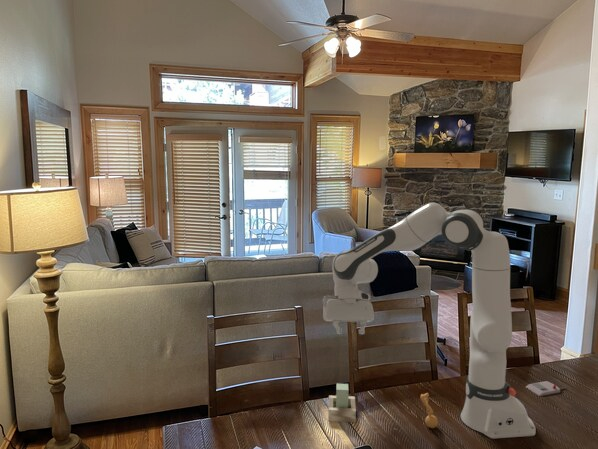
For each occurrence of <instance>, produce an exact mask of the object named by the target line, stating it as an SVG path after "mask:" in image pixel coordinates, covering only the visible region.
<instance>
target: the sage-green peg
mask: <svg viewBox="0 0 598 449" xmlns="http://www.w3.org/2000/svg"><path fill="white" fill-rule="evenodd" d="M335 387H336V388H335V389H336V392H335V393H336V394H335V396H336V408H348V396H349V383H336V386H335Z"/></svg>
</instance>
